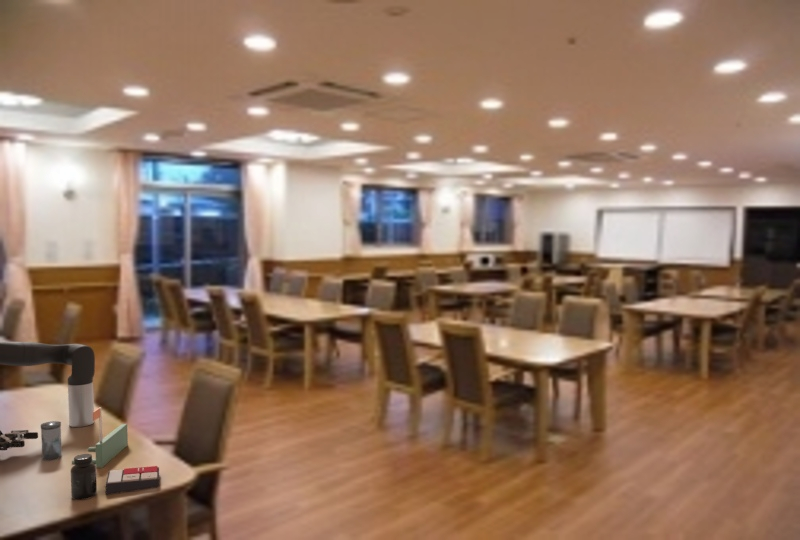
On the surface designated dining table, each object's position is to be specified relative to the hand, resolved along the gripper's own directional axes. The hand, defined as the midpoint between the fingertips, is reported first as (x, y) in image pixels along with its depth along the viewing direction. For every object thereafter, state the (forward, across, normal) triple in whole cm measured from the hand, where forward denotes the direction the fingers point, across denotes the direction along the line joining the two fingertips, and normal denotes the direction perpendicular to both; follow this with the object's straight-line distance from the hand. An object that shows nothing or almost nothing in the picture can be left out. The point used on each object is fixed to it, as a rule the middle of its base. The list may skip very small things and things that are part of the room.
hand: (30, 439), depth 215 cm
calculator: (+45, -25, +7) cm, 52 cm away
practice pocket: (+23, -1, +6) cm, 24 cm away
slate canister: (+7, 0, +6) cm, 10 cm away
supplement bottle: (+33, -33, +7) cm, 47 cm away
